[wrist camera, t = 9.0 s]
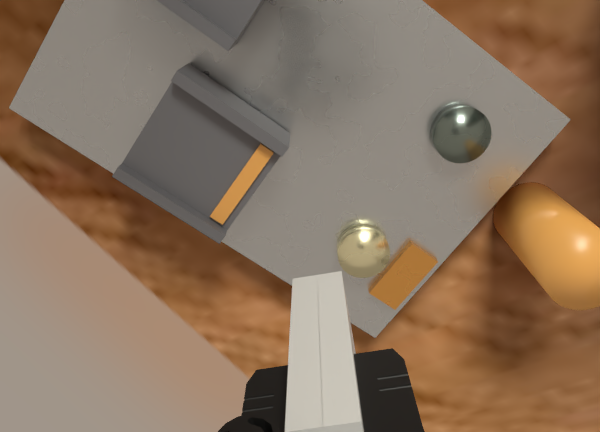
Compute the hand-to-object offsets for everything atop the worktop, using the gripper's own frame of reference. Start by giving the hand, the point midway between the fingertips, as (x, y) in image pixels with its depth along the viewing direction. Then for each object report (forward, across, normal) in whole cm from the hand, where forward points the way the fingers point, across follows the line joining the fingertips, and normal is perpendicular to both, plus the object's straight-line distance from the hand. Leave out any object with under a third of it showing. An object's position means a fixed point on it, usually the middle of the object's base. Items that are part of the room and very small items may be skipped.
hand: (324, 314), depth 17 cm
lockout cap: (+18, +12, -5) cm, 22 cm away
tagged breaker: (+15, -6, +3) cm, 16 cm away
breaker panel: (+17, -1, +4) cm, 18 cm away
